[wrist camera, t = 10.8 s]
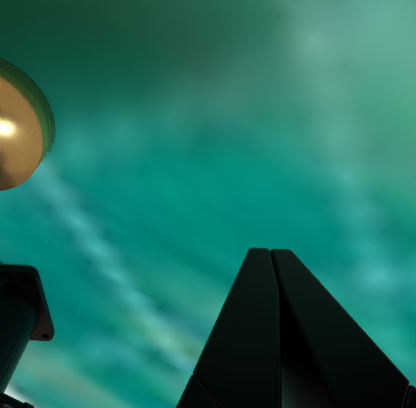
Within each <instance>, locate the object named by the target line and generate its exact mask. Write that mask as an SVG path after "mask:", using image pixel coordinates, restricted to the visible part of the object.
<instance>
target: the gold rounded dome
mask: <svg viewBox="0 0 416 408" xmlns="http://www.w3.org/2000/svg"><path fill="white" fill-rule="evenodd" d="M54 137H55V123H54V118H53V114H52V111H51V108H50V106H49V104H48V102H47V100H46V98H45V96H44V95H43V93H42V92H41V90H40V89H39V88H38V87H37V85H36V84H35V83H34V82H33V81H32V80H31V79H30V78H29V77H28V76H27V75H26V74H24V73H23V72H22V71H20V70H19V69H18V68H16V67H15V66H13V65H11V64H9V63H7V62H5V61H3V60H1V59H0V191H2V190H7V189H11V188H14V187H16V186H18V185H20V184H21V183H23V182H24V181H26V180H27V179H28V178H29V177H30V176H31V174H32V173H33V172H34V171H35V169H36V168H37V167H38V166H39V165H40V163H41V162H42V161H43V160H44V158H45V157H46V156H47V155H48V153H49V152H50V150H51V148H52V145H53V142H54Z"/></svg>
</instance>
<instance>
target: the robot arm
mask: <svg viewBox="0 0 416 408" xmlns="http://www.w3.org/2000/svg"><path fill="white" fill-rule="evenodd" d="M29 276H30V277H29ZM53 336H54V328H53V325H52V321H51V317H50V314H49V310H48V306H47V303H46V299H45V296H44V292H43V288H42V285H41V281H40V277H39V274H38V272H37V271H35V270H34V269H30V268H12V267H0V408H34V406H33V405H31V404H29V403H27V402H25V403H23V402H21V401H19V400H17V399H14V398H12V397H10V396H8V395H6V394H4V391H5V389H6V387H7V385H8V383H9V381H10V379H11V377H12V375H13V373H14V371H15V369H16V367H17V365H18V362H19V360H20V358H21V356H22V354H23V352H24V350H25V348H26V346H27V344H28V342H29V340H38V341H50V340H52V338H53ZM409 385H410V382H409V380H408V379H407V378H406V377H405V376H404V375H403V373H402V372H401V371H400V370H399V369H398V368H397V367H396V366H395V365H394V364H393V362H392V361H391V360H390V359H389V358H388V357H387V356H386V355H385V354H384V352H383V351H382V350H381V349H380V348H379V347H378V346H377V345H376V344H375V342H374V341H373V340H372V339H371V338H370V337H369V336H368V335H367V334H366V332H365V331H364V330H363V329H362V328H361V327H360V326H359V325H358V324H357V322H356V321H355V320H354V319H353V318H352V317H351V316H350V315H349V314H348V312H347V311H346V310H345V309H344V308H343V307H342V306H341V305H340V304H339V302H338V301H337V300H336V299H335V298H334V297H333V296H332V295H331V294H330V292H329V291H328V290H327V289H326V288H325V287H324V286H323V285H322V284H321V283H320V281H319V280H318V279H317V278H316V277H315V276H314V275H313V274H312V273H311V271H310V270H309V269H308V268H307V267H306V266H305V265H304V264H303V263H302V261H301V260H300V259H299V258H298V257H297V256H296V255H295V254H294V253H293V252H292V251H291V250H289V249H271V250H269V249H267V248H250V249H249V250H248V252H247V254H246V256H245V259H244V261H243V263H242V265H241V267H240V270H239V272H238V274H237V276H236V278H235V281H234V283H233V285H232V287H231V289H230V292H229V294H228V296H227V298H226V300H225V303H224V305H223V307H222V309H221V311H220V313H219V316H218V318H217V320H216V322H215V324H214V327H213V329H212V331H211V333H210V335H209V338H208V340H207V342H206V344H205V346H204V349H203V351H202V353H201V355H200V357H199V360H198V362H197V364H196V366H195V368H194V371H193V375H191V377H190V379H189V381H188V383H187V385H186V388H185V390H184V392H183V394H182V396H181V398H180V400H179V402H178V404H177V406H176V408H416V388H415V387H414V386H413V385H410V386H409Z"/></svg>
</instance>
